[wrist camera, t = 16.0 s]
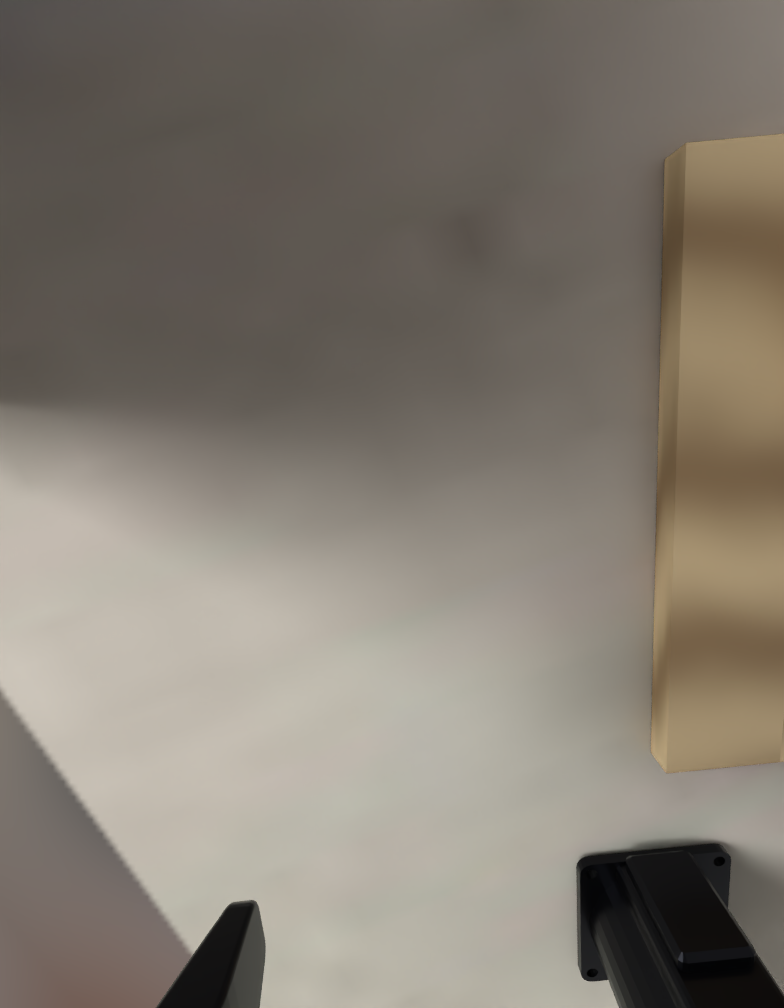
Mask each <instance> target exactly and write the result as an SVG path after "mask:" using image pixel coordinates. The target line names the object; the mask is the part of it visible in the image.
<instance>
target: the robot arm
mask: <svg viewBox="0 0 784 1008" xmlns="http://www.w3.org/2000/svg"><path fill="white" fill-rule="evenodd" d="M730 867H731V858H730V856H729V854H728V853H727V852H726V850H725V849H724V848H723V846H721V845H719V844H707V845H697V846H687V847H677V848H667V849H658V850H648V851H638V852H628V853H618V854H608V855H598V856H588V857H584V858H582V859H581V860H579V862H578V863H577V867H576V870H577V936H578V966H579V970H580V972H581V975H582V978H583V979H584V980H586V981H601V980H609V983H610V986H611V988H612V991H613V993H614V996H615V998H616V1001H617V1004H618V1006H619V1008H784V994H783V992H782V991H781V989H780V988H779V986H778V985H777V983H776V982H775V980H774V979H773V977H772V976H771V974H770V973H769V971H768V970H767V968H766V967H765V965H764V964H763V962H762V961H761V959H760V958H759V956H758V955H757V953H756V952H755V949H754V947H753V945H752V944H751V942H750V941H749V939H748V938H747V936H746V935H745V933H744V932H743V930H742V929H741V927H740V926H739V924H738V923H737V921H736V920H735V918H734V917H733V915H732V914H731V912H730V911H729V909H728V896H729V882H730ZM588 870H589V871H588ZM264 964H265V937H264V932H263V927H262V921H261V916H260V911H259V906H258V904H257V902H256V901H254V900H249V901H239V902H233V903H231V904H230V905H228V906H227V907H226V909H225V910H224V912H223V913H222V914H221V916H220V917H219V919H218V920H217V922H216V923H215V924H214V926H213V927H212V929H211V930H210V931H209V933H208V934H207V936H206V937H205V939H204V940H203V941H202V943H201V944H200V946H199V947H198V949H197V950H196V951H195V953H194V954H193V956H192V957H191V958H190V960H189V961H188V963H187V964H186V966H185V967H184V968H183V970H182V971H181V973H180V974H179V976H178V977H177V978H176V980H175V981H174V983H173V984H172V986H171V987H170V988H169V990H168V991H167V993H166V994H165V995H164V997H163V998H162V1000H161V1001H160V1003H159V1004H158V1005H157V1007H156V1008H259V1007H260V999H261V990H262V981H263V973H264Z"/></svg>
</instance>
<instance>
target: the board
mask: <svg viewBox="0 0 784 1008" xmlns="http://www.w3.org/2000/svg"><path fill="white" fill-rule="evenodd" d="M651 753H652V755H653V756H654V757H655V759H656V760H657V761H658V763H659V764H660V765H661V767H662V768H663V770H664V771H665V772H666V773H676V772H686V771H696V770H706V769H716V768H726V767H736V766H746V765H756V764H766V763H776V762H784V134H774V135H764V136H753V137H742V138H732V139H721V140H710V141H699V142H689V143H685V144H684V145H683V146H681V147H680V148H679V149H678V150H676V151H675V152H674V153H672V154H671V155H670V156H669V157H667V158H666V159H665V166H664V209H663V252H662V295H661V338H660V380H659V423H658V466H657V509H656V551H655V594H654V637H653V680H652V723H651Z"/></svg>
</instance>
